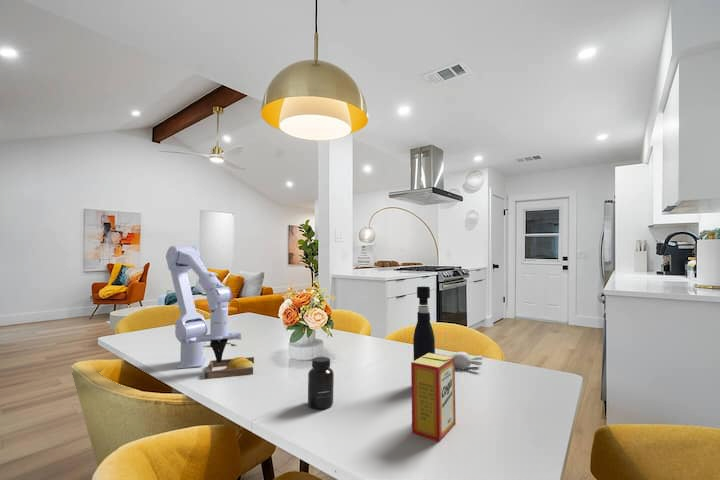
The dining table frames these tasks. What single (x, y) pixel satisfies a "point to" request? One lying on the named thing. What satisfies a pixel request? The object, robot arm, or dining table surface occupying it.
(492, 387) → the dining table surface
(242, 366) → the bread roll
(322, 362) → the supplement bottle
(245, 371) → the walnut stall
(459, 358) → the grey fingered piece
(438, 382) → the baking soda box
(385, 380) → the dining table surface
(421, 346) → the wine bottle
